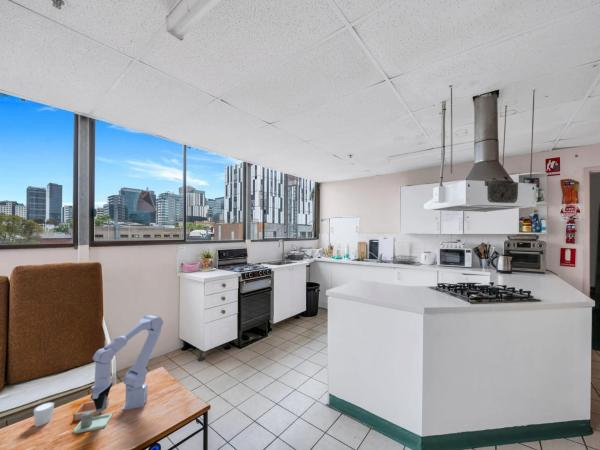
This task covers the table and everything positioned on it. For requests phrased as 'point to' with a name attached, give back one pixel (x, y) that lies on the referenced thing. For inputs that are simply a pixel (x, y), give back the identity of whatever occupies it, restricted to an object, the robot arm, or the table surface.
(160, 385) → the table surface
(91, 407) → the dish
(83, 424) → the pebble
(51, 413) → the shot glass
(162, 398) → the table surface
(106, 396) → the pebble
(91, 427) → the parts tray
